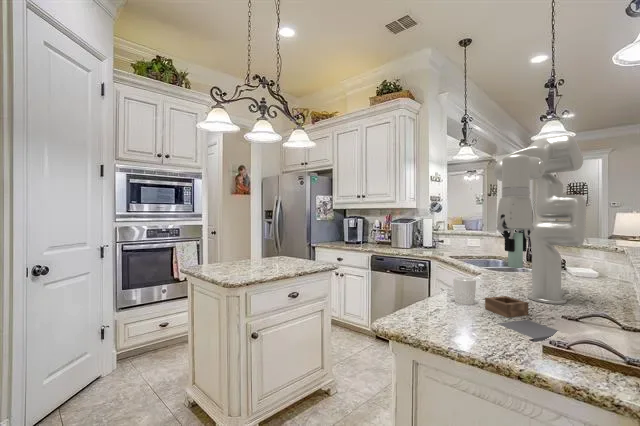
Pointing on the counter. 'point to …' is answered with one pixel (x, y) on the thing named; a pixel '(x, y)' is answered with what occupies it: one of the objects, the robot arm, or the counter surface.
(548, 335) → the mat
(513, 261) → the pale green cylinder
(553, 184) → the robot arm
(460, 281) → the white cup
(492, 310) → the box
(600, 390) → the counter surface
